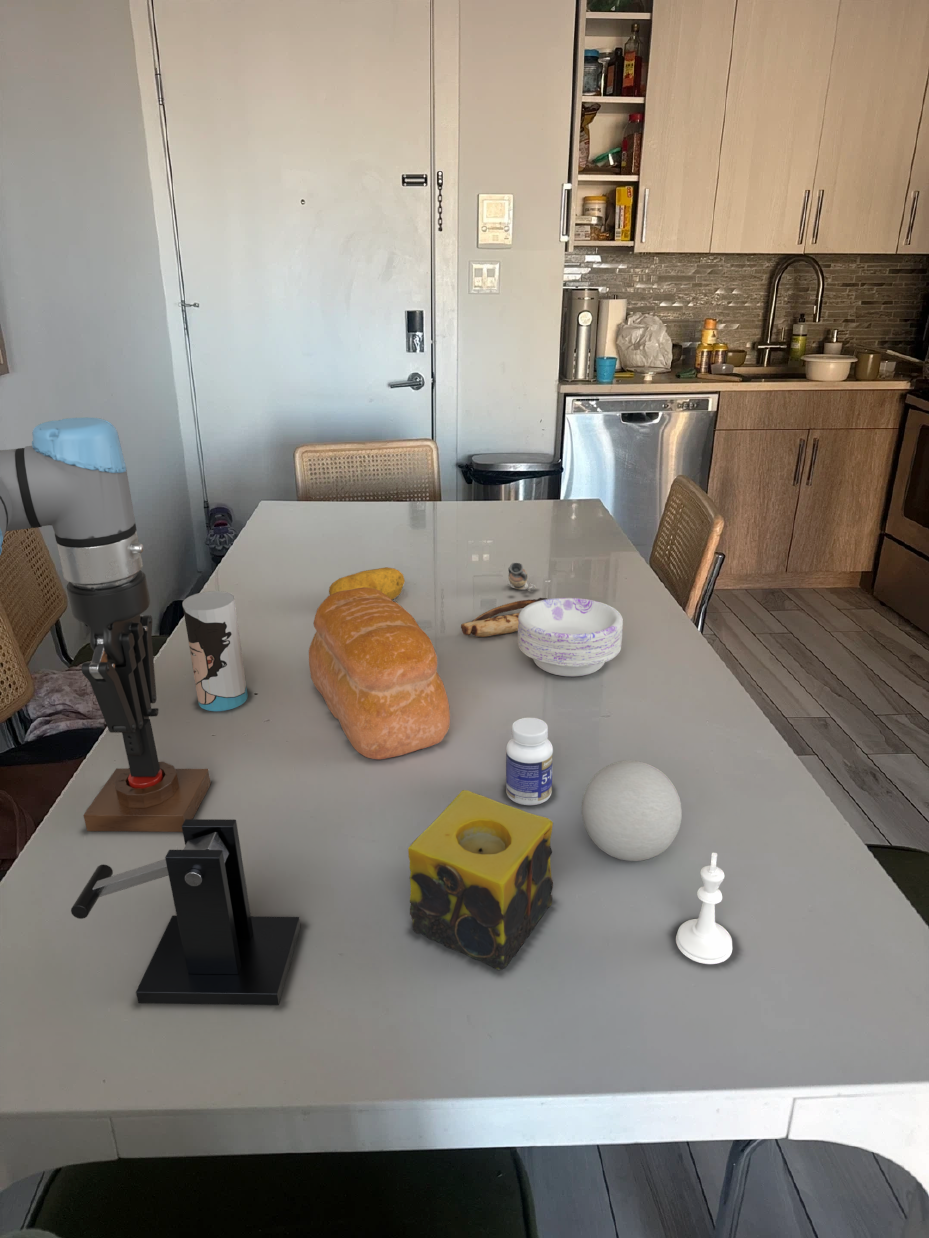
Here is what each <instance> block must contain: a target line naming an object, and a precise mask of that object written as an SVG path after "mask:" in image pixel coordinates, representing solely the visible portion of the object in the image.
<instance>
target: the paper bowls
mask: <svg viewBox="0 0 929 1238" xmlns="http://www.w3.org/2000/svg"><path fill="white" fill-rule="evenodd" d="M518 613H519V617H518V621H519V624H518V631H517V646H518V648H519V650H520V651H521V652H522V653H523V654H524V655H525V656H527V657H529V658H530V659H532V660H533V662H534V663H535V665H536V666H537V667H538V668H540V669H541V670H543V671H544V672H546V673H549V674H551V675H556V676H560V677H571V678H572V677H584V676H588V675H592V674H594V673H595V672H597V671H599V670H600V669H601V668H603V666H604V665H605V663H606V662H609V661H612V660H613V659H614V658H616V657H617V656H618V655H619V654H620V652H621V650H622V641H623V628H624V620H623V619H624V618H623V616H622V614H621V613H620V611H618V609H616V608H615V607H613V606H611V605H609V604H606V603H604V602H601V601H597V600H593V599H589V598H588V599H587V598H581V597H553V598H547V599H546V600H541V601H537V602H534V603H531V604H529V605H527V606H526V607H524V608H522V609H520V611H519V612H518Z"/></svg>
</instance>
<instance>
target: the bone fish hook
mask: <svg viewBox="0 0 929 1238" xmlns="http://www.w3.org/2000/svg"><path fill="white" fill-rule="evenodd" d="M546 599H548V598H546V597H539V598H537V599H536V598H535V599H534V598H533V599H523V600H522V599H521V600H517V601H513V602H510V603H505V604H502V605H499V606H496V607H493V608H492V609H489V610H487V611H485V612H483V613H481V614H479V615H478V616H477V617H475V618H474V619H473V620H472V621H467V622H464V623H461V625H460V629H461V632H462V634H463V635H465V636H470V635H472V636H474V637H480V638H486V637H492V636H496V635H499V636H500V635H505V634H512V633H515V632H518V624H519V621H518V617H519V613H520V612H515V613H509V614H504V613H508V612H511V611H516V610H522V609H523V608H524V607H526V606H527V605H529V604H531V603H534V602H537V601H541V600H546ZM500 614H502V615H500Z"/></svg>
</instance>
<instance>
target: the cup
mask: <svg viewBox="0 0 929 1238" xmlns="http://www.w3.org/2000/svg"><path fill="white" fill-rule="evenodd" d="M182 609H183V617H184V622H185V627H186V628H185V629H186V634H187V641H188V647H189V652H190V660H191V665H192V671H193V678H194V683H195V684H194V685H195V690H196V696H197V701H198V702H197V703H198V706H199V707H200V708H201V709H203V710H206V711H211V712H225V711H229V710H233V709H236V708H238V707H239V706H242V705H243V704H245V702H247V700H248V698H249V695H248V690H247V688H248V687H247V681H246V673H245V666H244V658H243V650H242V645H241V644H242V643H241V635H240V629H239V622H238V613H237V607H236V600H235V595H234V594H233V593H231V592H228V591H223V590H209V591H202V592H198V593H194V594H192V595H189V596H188V597H186V598H185V599H184V600H183V601H182Z"/></svg>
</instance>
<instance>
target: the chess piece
mask: <svg viewBox="0 0 929 1238" xmlns="http://www.w3.org/2000/svg"><path fill="white" fill-rule="evenodd" d="M717 860H718V853H717V852H711V857H710V865H709V864H708V865H705V866H702V868H701V869H700V878H701V880H702V886H700V887H699V888H698V890H697V892H696V895H697V897H698V899H699V900H700V901H701V902H702V903H701V907H700V910H699V911H700V912H699V914H698V918H694V919H693V918H692V919H689V920H686V921H685V922H682V924H680V926H679V927H678V929H677V933H676V936H675V943H676V946H677V948H678V950H679V951H680V952H681V953H682V954H683V955H684V956H685V957H686V958H688V959H690V960H691V961H693V962H696V963H699V964H704V965H716V964H717V965H718V964H721V963H723V962H725V961H727V960H728V959H729V958H730V957H731V955H732V952H733V939H732V936H731V934H730V933H729V932H728V931H727V928H725V927H724V926H722V925H720V923H717V922H716V904H719V903H721V902H722V901H723V894H722V891H721V890H720V889H719V887H720V886H721V884H722V883H723V881H724V880H725V873H724V870H722V868H721V867H719V866H717Z"/></svg>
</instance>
